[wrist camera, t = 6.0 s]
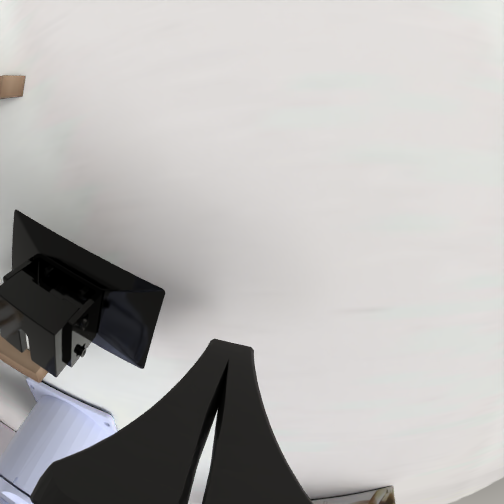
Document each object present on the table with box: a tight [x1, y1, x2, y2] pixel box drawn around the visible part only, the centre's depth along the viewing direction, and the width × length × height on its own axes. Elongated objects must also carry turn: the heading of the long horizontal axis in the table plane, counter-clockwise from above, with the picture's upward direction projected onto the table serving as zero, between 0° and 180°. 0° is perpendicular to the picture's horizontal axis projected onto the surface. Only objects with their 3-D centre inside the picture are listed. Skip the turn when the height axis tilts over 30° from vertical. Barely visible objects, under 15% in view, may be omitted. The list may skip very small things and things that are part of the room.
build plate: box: [0, 210, 165, 377], centre depth 12 cm, size 12×7×5 cm, turn 65°
